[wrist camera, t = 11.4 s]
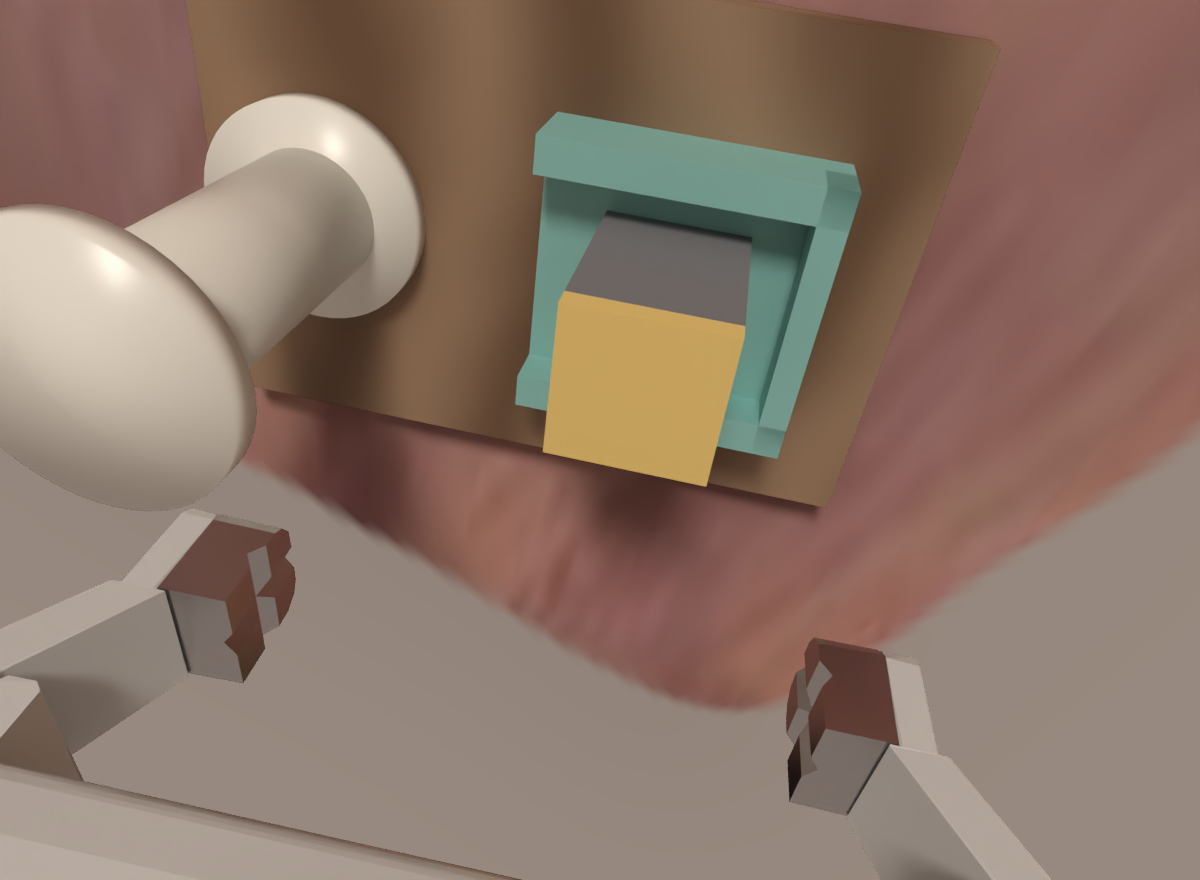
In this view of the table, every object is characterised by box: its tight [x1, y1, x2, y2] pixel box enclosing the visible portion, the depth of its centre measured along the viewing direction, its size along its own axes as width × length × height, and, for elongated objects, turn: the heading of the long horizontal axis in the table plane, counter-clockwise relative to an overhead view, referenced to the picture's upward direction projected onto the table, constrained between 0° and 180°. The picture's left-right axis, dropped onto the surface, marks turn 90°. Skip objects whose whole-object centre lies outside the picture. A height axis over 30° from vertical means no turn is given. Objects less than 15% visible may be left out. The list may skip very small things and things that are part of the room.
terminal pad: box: [515, 112, 862, 459], centre depth 23 cm, size 8×8×2 cm
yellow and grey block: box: [543, 210, 752, 487], centre depth 21 cm, size 4×4×6 cm
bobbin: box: [0, 93, 426, 511], centre depth 20 cm, size 7×7×11 cm
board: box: [185, 0, 1001, 508], centre depth 25 cm, size 21×14×1 cm
